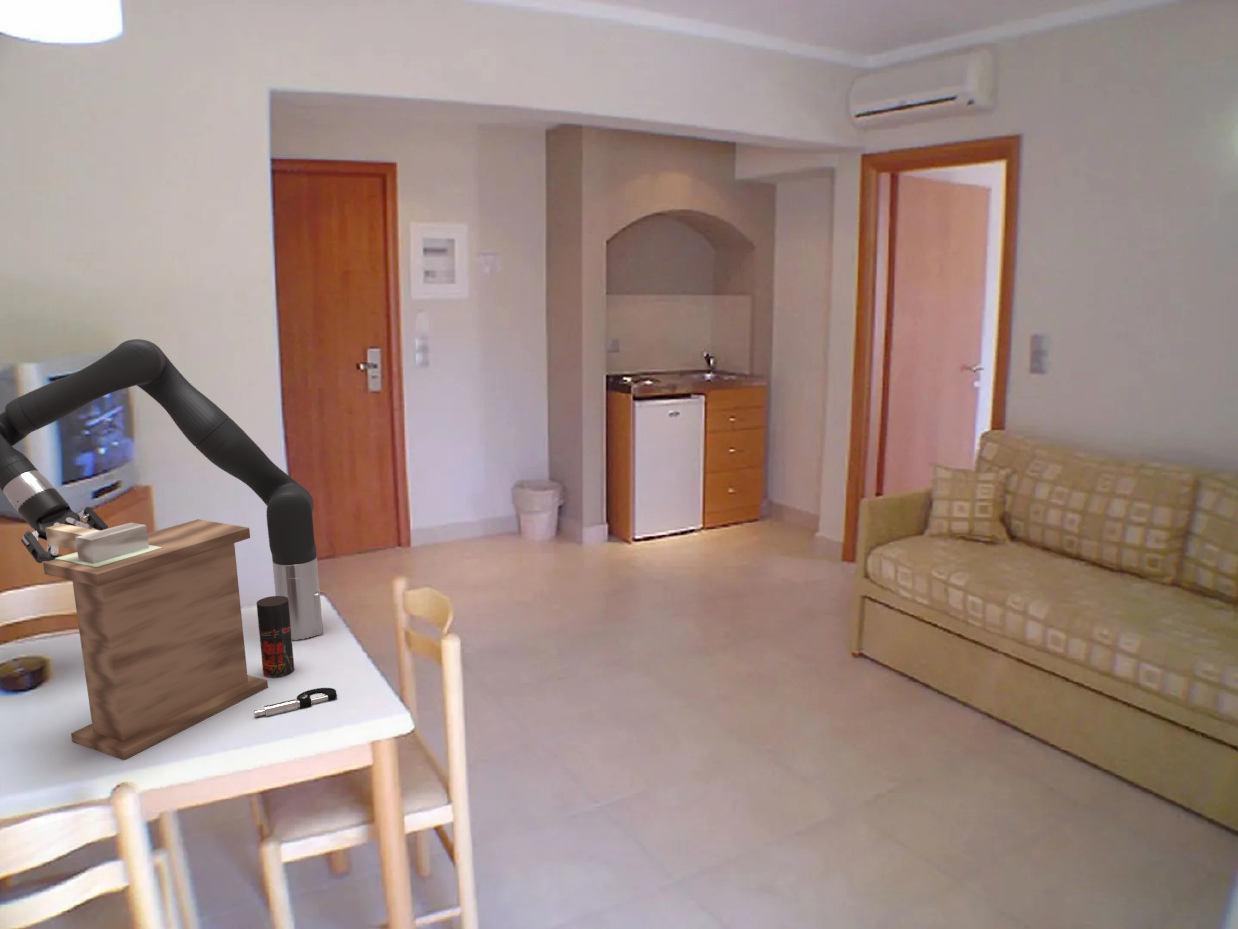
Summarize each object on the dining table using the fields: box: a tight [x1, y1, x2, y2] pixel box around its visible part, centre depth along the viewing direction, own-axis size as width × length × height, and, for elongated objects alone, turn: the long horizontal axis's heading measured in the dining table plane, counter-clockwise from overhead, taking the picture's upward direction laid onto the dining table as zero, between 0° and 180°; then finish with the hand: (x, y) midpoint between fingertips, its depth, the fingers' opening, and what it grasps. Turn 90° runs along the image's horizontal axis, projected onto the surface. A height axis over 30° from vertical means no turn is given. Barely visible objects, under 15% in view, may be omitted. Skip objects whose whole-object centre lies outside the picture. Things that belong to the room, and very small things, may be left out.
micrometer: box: [253, 687, 338, 719], centre depth 171 cm, size 15×7×2 cm, turn 120°
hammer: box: [45, 522, 149, 564], centre depth 157 cm, size 18×10×4 cm, turn 63°
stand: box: [42, 519, 269, 761], centre depth 164 cm, size 15×30×32 cm, turn 153°
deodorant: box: [256, 595, 295, 679], centre depth 183 cm, size 6×6×15 cm
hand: (89, 563), depth 177 cm, fingers open, 8 cm apart
